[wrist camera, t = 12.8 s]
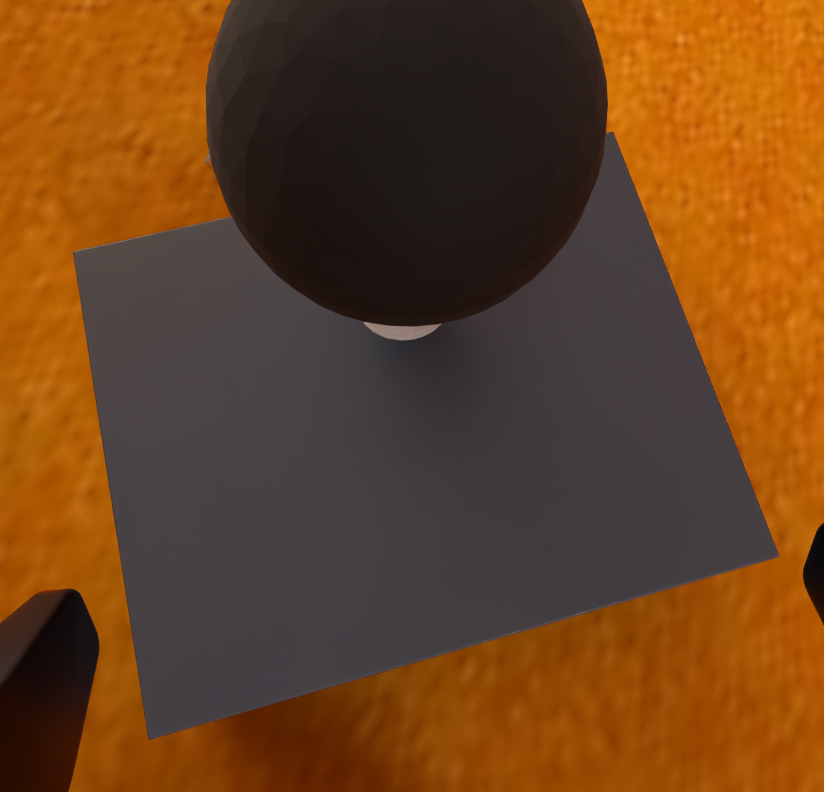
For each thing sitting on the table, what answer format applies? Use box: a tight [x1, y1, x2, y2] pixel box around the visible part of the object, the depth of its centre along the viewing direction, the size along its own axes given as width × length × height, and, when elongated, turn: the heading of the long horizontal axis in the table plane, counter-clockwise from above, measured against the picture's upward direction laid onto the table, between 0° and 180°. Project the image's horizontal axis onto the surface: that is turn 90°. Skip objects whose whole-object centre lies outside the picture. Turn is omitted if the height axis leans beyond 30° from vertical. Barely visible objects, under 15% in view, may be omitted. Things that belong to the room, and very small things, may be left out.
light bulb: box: [206, 0, 608, 341], centre depth 12 cm, size 6×6×10 cm
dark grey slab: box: [73, 132, 779, 739], centre depth 18 cm, size 12×15×4 cm
